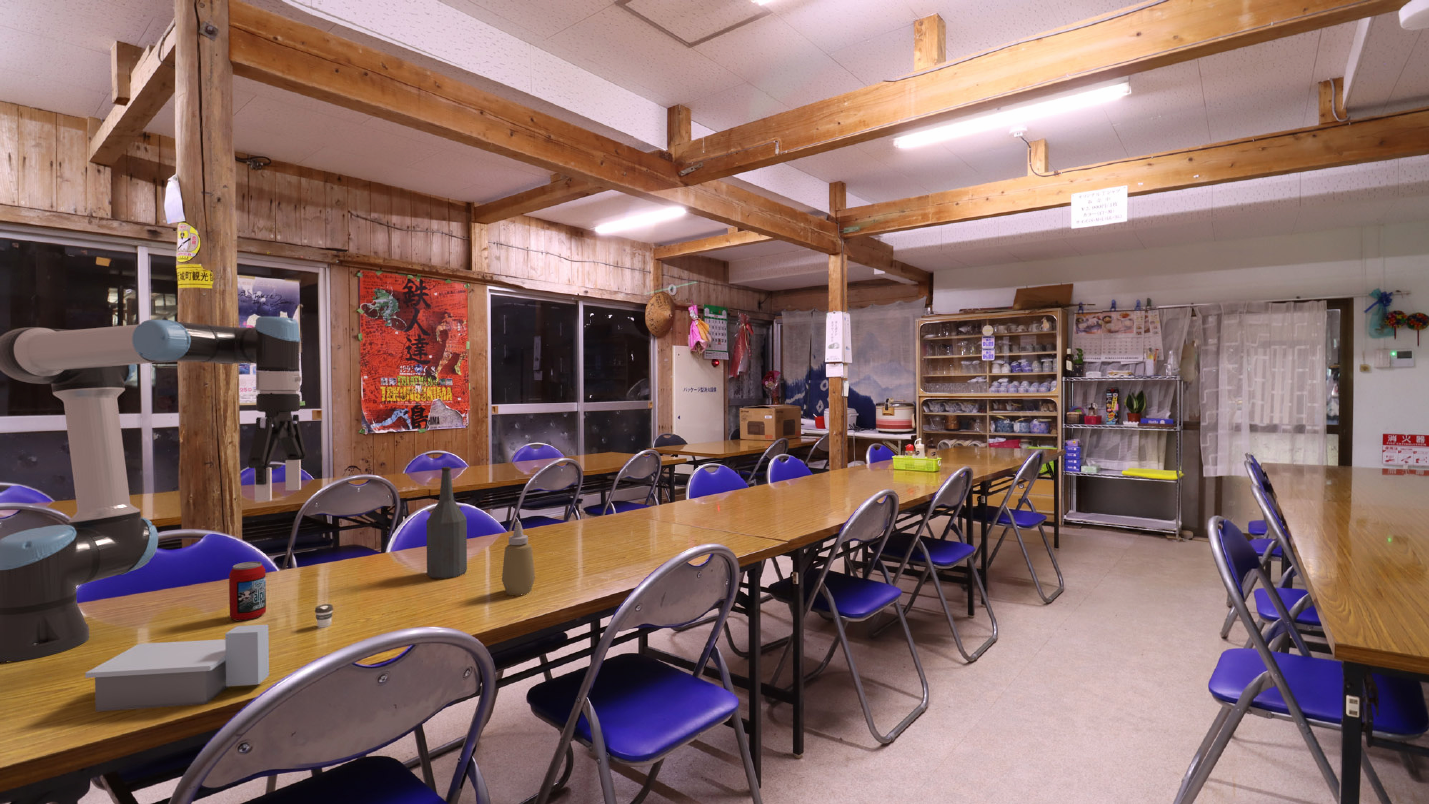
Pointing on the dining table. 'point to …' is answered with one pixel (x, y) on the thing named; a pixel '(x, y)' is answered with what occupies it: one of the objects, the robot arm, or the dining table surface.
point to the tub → (159, 689)
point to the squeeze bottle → (518, 564)
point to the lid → (198, 657)
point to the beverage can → (247, 591)
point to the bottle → (446, 534)
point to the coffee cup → (324, 615)
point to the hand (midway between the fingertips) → (279, 495)
